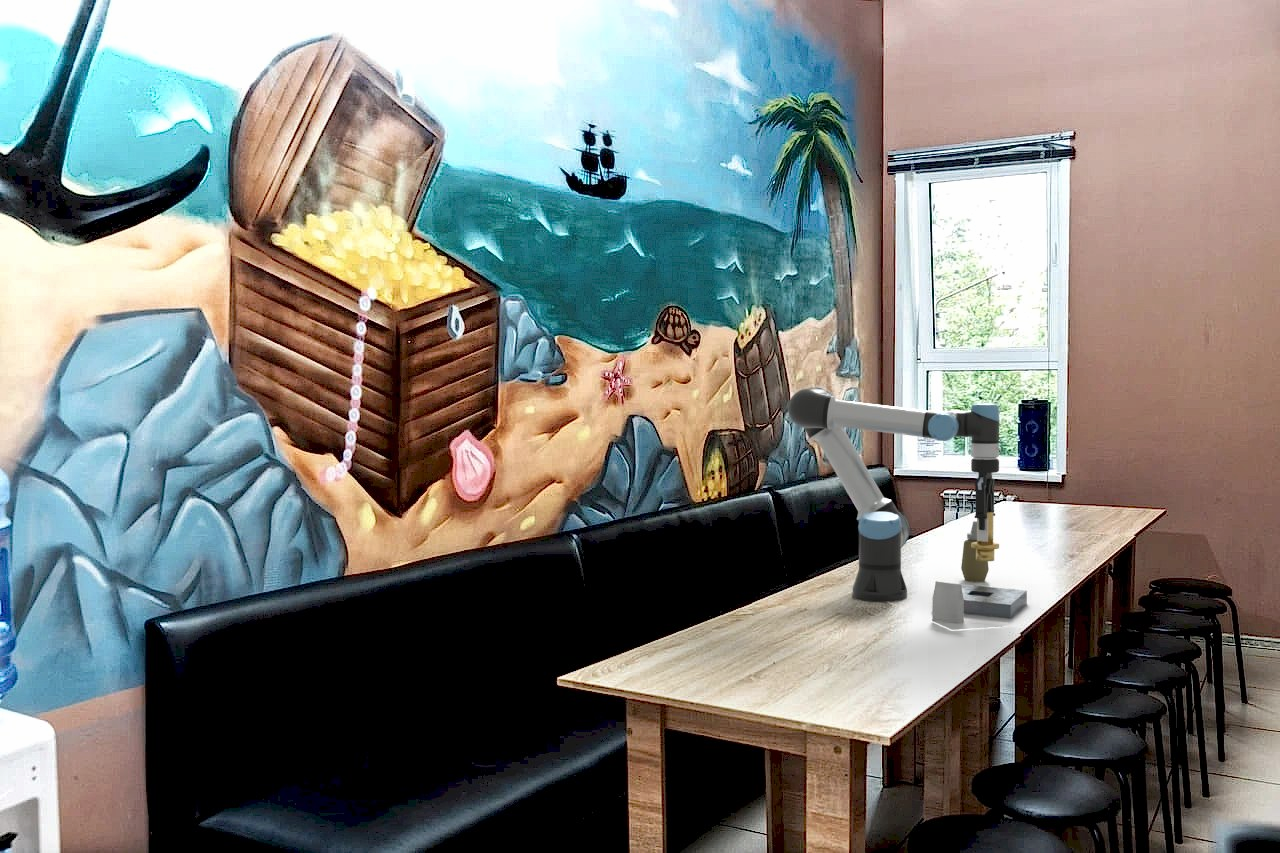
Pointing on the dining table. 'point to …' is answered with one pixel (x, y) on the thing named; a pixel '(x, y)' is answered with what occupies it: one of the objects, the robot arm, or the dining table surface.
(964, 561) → the squeeze bottle
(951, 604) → the tea bag
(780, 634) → the dining table surface
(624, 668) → the dining table surface
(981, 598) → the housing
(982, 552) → the brass door knob
